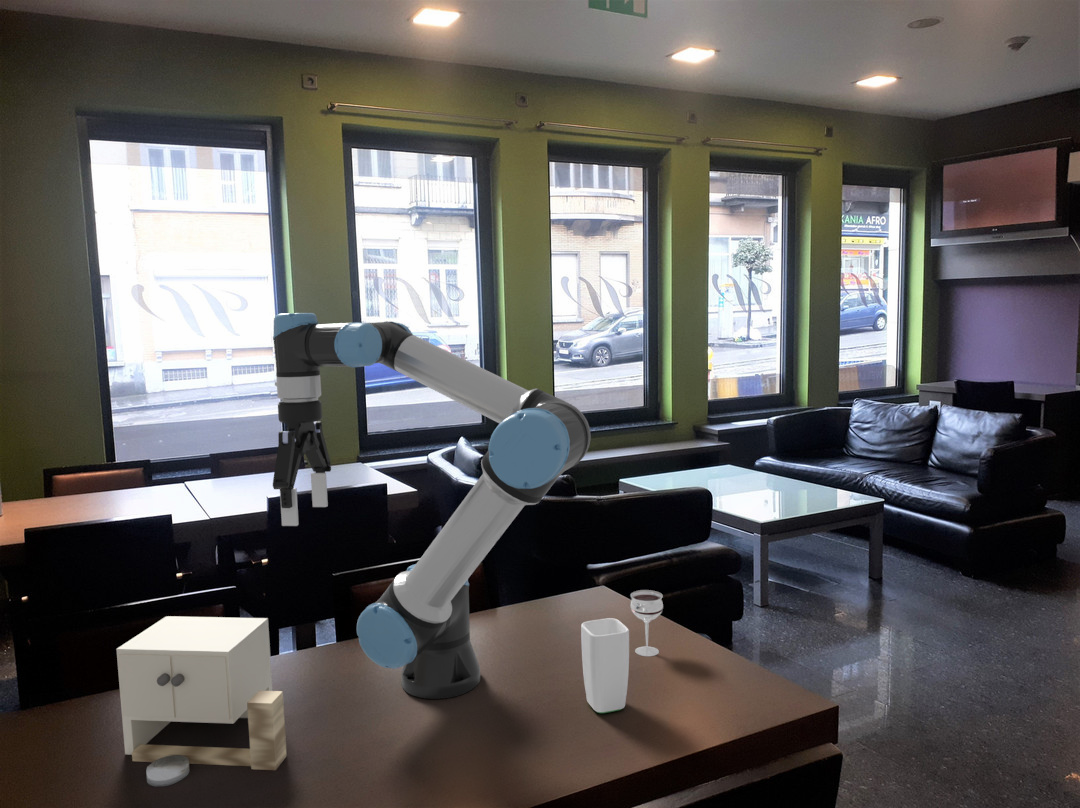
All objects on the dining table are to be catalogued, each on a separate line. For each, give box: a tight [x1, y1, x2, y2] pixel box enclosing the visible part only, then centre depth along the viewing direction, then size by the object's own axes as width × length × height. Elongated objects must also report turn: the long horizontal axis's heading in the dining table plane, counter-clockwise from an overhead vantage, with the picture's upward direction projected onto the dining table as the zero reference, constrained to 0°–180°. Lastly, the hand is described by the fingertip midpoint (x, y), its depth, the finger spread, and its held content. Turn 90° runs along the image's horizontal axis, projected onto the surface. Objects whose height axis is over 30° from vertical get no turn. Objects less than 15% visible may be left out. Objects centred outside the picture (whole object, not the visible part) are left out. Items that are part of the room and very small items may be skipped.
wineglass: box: [629, 589, 664, 657], centre depth 163 cm, size 7×7×12 cm
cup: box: [580, 617, 630, 714], centre depth 140 cm, size 7×7×15 cm
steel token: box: [145, 755, 190, 788], centre depth 122 cm, size 6×6×2 cm
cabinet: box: [115, 615, 273, 756], centre depth 133 cm, size 19×16×18 cm
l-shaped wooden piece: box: [131, 690, 288, 771], centre depth 126 cm, size 24×4×11 cm, turn 84°
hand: (306, 515), depth 143 cm, fingers open, 13 cm apart
